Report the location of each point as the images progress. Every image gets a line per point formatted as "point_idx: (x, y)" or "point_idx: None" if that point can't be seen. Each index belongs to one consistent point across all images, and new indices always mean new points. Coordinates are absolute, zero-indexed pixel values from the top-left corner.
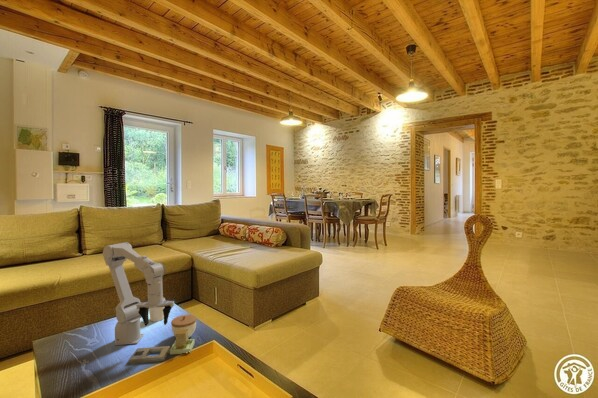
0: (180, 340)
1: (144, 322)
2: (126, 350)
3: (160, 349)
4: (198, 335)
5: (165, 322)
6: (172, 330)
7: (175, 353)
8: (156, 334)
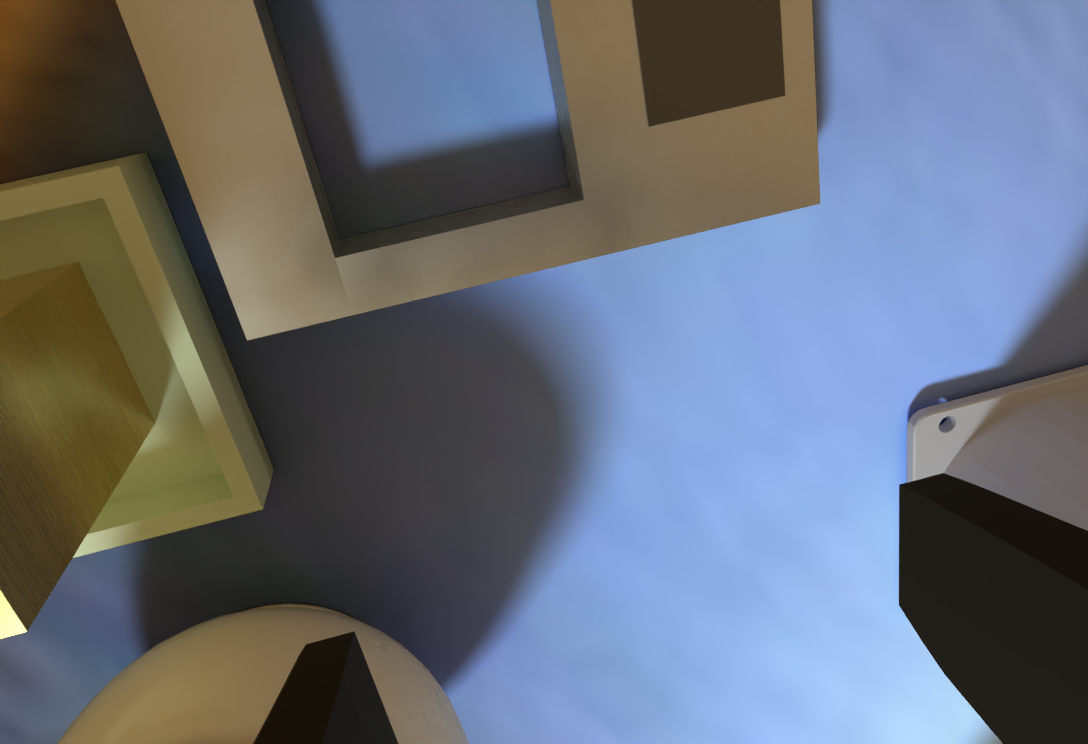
0: None
1: (1046, 521)
2: (983, 228)
3: (389, 238)
4: None
5: (283, 695)
6: (415, 694)
7: (31, 178)
8: (741, 655)
